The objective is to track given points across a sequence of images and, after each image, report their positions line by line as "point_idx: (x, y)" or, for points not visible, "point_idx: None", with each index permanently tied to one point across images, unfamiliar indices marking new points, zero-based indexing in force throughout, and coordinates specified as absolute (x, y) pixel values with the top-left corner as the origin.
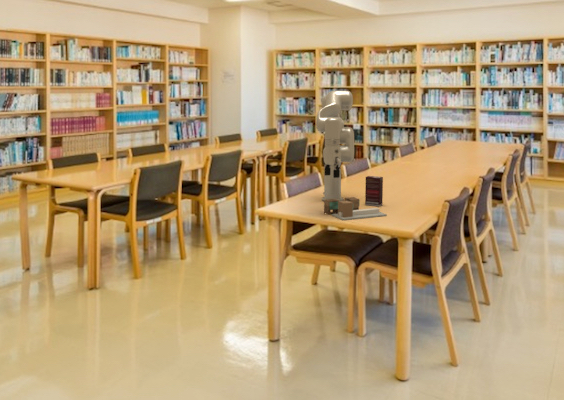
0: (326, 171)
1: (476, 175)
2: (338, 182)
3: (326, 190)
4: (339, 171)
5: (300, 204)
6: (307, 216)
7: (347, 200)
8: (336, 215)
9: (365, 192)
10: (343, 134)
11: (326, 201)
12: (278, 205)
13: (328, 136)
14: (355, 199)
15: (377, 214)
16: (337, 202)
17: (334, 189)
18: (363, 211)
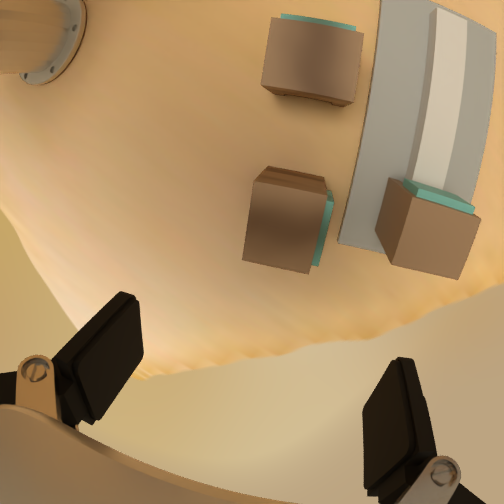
0: (119, 378)
1: None
2: (7, 8)
3: (13, 70)
4: (427, 424)
5: (60, 207)
6: (277, 330)
7: (303, 92)
8: (378, 245)
9: None
10: None
11: (277, 264)
12: (59, 284)
13: None
14: (359, 61)
15: (481, 63)
16: (331, 211)
17: (30, 34)
18: (456, 115)
